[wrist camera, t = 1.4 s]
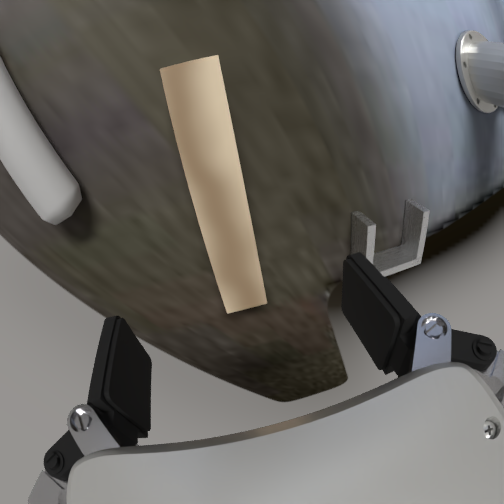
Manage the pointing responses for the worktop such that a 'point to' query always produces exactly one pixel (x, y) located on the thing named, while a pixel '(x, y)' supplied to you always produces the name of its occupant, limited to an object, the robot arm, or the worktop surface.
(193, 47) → the worktop surface
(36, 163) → the tube
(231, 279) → the maple rail
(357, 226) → the cup bracket
